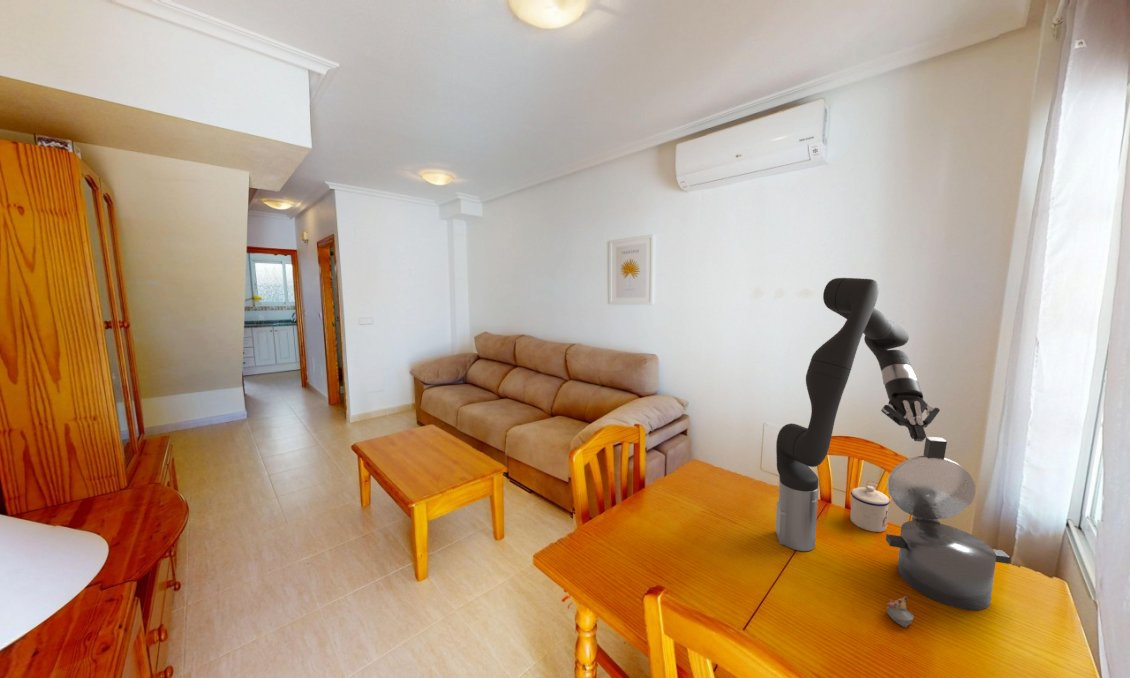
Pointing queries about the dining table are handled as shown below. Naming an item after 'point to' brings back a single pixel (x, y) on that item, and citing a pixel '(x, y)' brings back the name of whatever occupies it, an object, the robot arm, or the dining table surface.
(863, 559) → the dining table surface
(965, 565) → the pot
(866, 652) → the dining table surface
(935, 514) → the lid
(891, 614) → the figurine
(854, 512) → the white lidded canister
